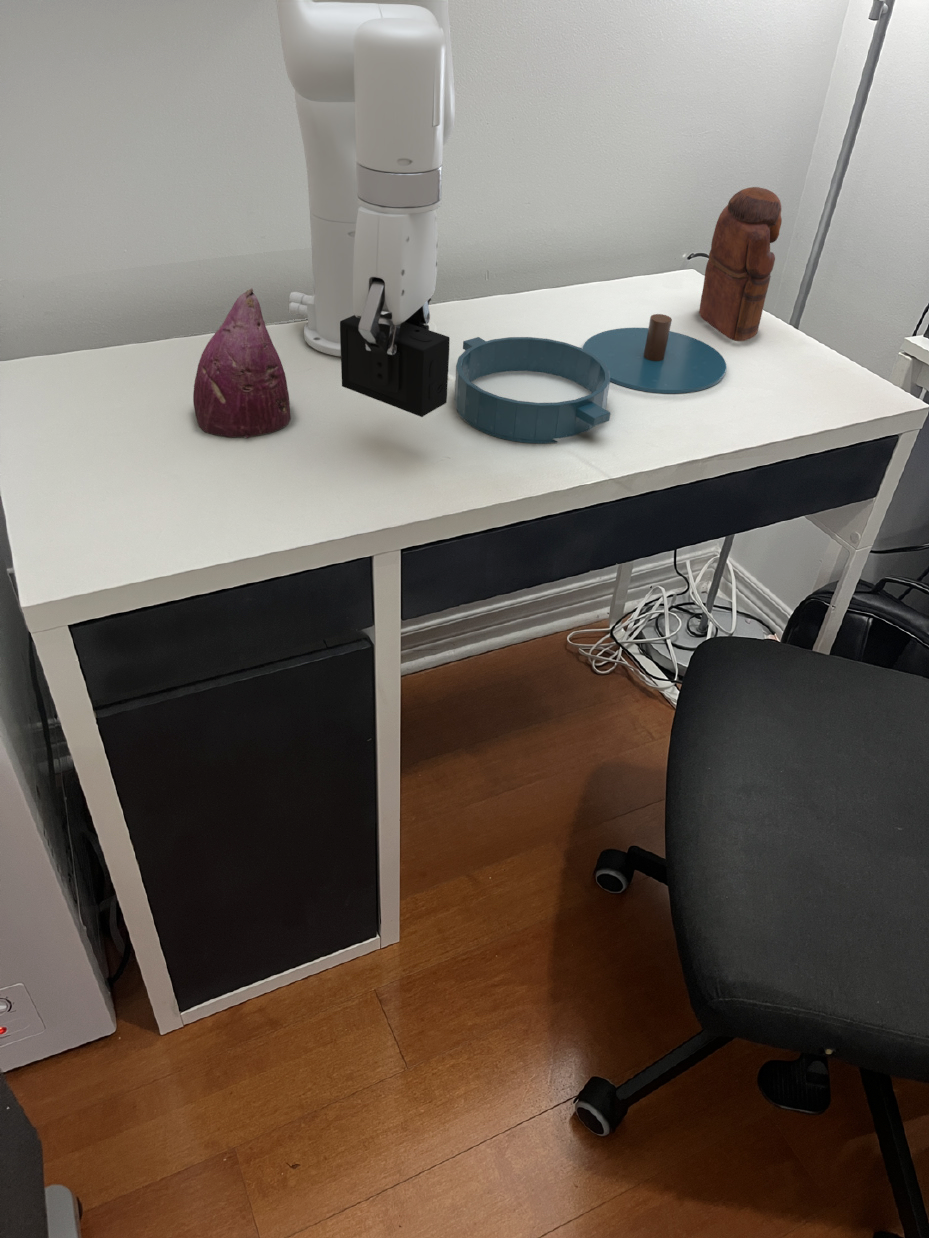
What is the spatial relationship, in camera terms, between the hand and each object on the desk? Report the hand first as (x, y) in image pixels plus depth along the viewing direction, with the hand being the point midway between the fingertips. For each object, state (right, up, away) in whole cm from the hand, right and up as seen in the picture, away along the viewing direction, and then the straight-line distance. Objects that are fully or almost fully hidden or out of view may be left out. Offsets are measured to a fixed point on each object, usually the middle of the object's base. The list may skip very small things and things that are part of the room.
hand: (398, 373), depth 95 cm
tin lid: (+30, +8, +24) cm, 39 cm away
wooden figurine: (+43, +15, +35) cm, 57 cm away
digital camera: (0, -2, +1) cm, 2 cm away
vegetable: (-18, -2, +9) cm, 20 cm away
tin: (+14, 0, +14) cm, 20 cm away
